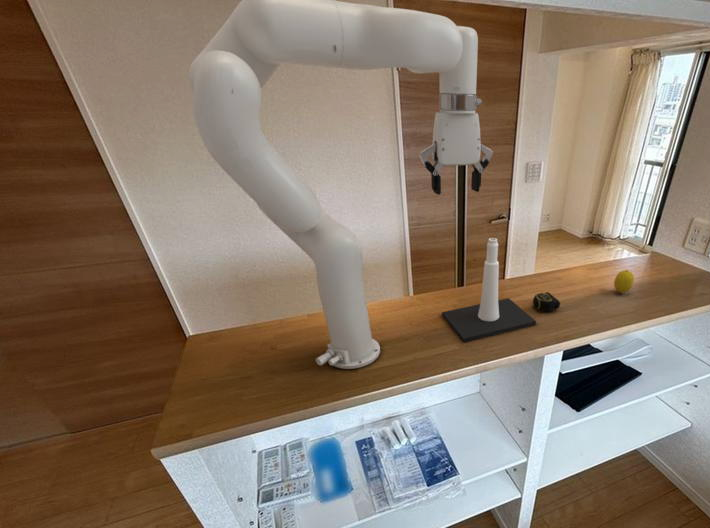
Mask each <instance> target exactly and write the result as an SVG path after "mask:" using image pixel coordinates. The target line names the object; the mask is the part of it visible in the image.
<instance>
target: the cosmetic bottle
mask: <svg viewBox="0 0 710 528" xmlns="http://www.w3.org/2000/svg"><path fill="white" fill-rule="evenodd" d="M487 241H488V242H487V244H486V260H484V265H483V276H482V284H481V285H482V286H481V294H480V295H481V297H480V303H479V304H480V308H479V313H478V317H479V318H480V319H481V320H483V321H495V320H497V319H498V318H499V307H498V300H499V277H500V276H499V274H500V273H499V271H500V270H499V269H500V264H499V261H498V254H499V253H498V252H499V242H498V238H496V237H490V238H488V240H487Z"/></svg>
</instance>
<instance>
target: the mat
mask: <svg viewBox="0 0 710 528" xmlns="http://www.w3.org/2000/svg"><path fill="white" fill-rule="evenodd" d="M498 307H499V318H498V319H497V320H495V321H483V320H481V319H480V318H479V317H478V313H479V308H480V303H478V304H474V305H470V306H465V307H459V308H456V309H455V308H454V309H450V310H446V311H441V316H442V317H443V319H444V320H445V321H446V323H447V324H448V325H449V326H450V327H451V329H452V330H453V331H454V332H455V334H456V335H457V336H458V338H459V339H460V340H461V341H462V343H467V342H471V341H475V340H479V339H483V338H484V339H485V338H488V337H491V336H495V335H500V334H504V333H507V332H512V331H516V330H519V329H524V328H528V327H531V326H536V323H537V320H535V319H534V318H533V317H532V316H531V315H530V314H529V313H528V312H526V311H525V310H524V309H522V308H521V307H520V306H519V305H517V303H515V302H514V301H513V300H512V299H511V298H509V297H507V298H503V299H498Z"/></svg>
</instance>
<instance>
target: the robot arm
mask: <svg viewBox="0 0 710 528" xmlns="http://www.w3.org/2000/svg"><path fill="white" fill-rule="evenodd" d="M478 36H479V35H478V33H477V31H476V29H474V28H473V27H470V26H463V25H457V24H456V23H455V22H454V21H452V19H450V18H449V17H447V16H443V15H440V14H436V13H430V12H426V11H420V10H415V9H408V8H400V7H399V8H398V7H388V6H378V5H371V4H365V3H353V2H347V1H342V0H341V1H340V0H241V1H240V2H239V3H238V4H237V6H236V7H235V9H234V10H233V11H232V13H231V14H230V15H229V17H228V18H227V19H226V21H225V22H224V24H223V25H222V26H221V27H220V28H219V30H218V31H217V32H216V33H215V34H214V36H213V37H212V38H211V39H210V41H209V42H208V43H207V44H206V46H204V48H203V49H202V50H201V51H200V52H199V54H198V55H197V56H196V58H194V60H193V61H192V63H191V64H190V67H189V71H188V83H189V87H190V88H191V91H192V111H193V116H194V121H195V124H196V125H195V126H196V128H197V132H198V134H199V136H200V137H199V138H201V141H202V143H203V145H204V146H205V148H206V150H207V151H208V153H209V155H210V156H211V157H212V158H213V160H214V161H215V162H216V163H217V164H218V165H219V167H220V168H221V169H222V170H223V171H224V172H225V173H226V174H227V175H228V176H229V177H230V178H231V180H233V181H234V182H235V183H236V184H237V185H238V186H239V187H240V188H241V189H242V190H243V191H244V193H246V194H247V196H248V197H250V198H251V199H252V200H253V201H254V202H255V203H256V205H257V207H258V209H259V210H260V211H261V212H262V213H263V214H264V215H265V216H266V218H268V220H270V221H271V222H272V223H273V224H274V225H275V226H276V227H277V228H279V229H280V230H281V232H282V233H284V234H285V235H286V236H287V237H288V238H289V239H290V240H291V241H292V242H293V243H294V244H295V245H296V246H298V247H299V249H301V250H302V251H303V252H304V253H305V254H306V255H307V256H308V257H309V258H310V259H311V261H312V262H313V263H314V264H313V265H314V267H315V272H316V281H317V282H316V283H317V289H318V295H319V299H320V303H321V306H322V310H323V315H324V319H325V323H326V328H327V333H328V336H329V337H328V338H329V342H330V343H327V345H326V346H327V350H325V353H324V354H323V353H322V354H321V355H320V356H318V357H316V358H315V363H316V364H317V365H318V366H323V365H324V364H326V363H328V364H329V366H333V367H334V368H338V369H342V370H343V369H344V370H354V369H359V368H363V367H365V366H368V365H370V364H372V363H373V362H375V361H376V360H377V359H378V357H379V356H380V354H381V346H380V343H379V342H378V341H377V340H376V339H374V338H373V337H372V335H373V334H372V329H371V323H370V316H369V311H368V303H367V298H366V291H365V285H364V277H363V276H364V275H363V250H362V247H361V243H360V241H359V239H358V238H357V237H356V235H355V233H353V232H352V231H351V230H350V229H349V228H348V227H346V226H344V225H343V224H341V223H340V222H338V221H336V220H335V219H333V218H332V217H331V216H330V215H329V214H328V213H327V212H326V210H324V208H323V207H322V206H321V205H320V202H319V199H318V197H317V195H316V194H315V192H314V190H313V189H312V188H311V187H310V186H309V185H308V184H307V183H306V182H305V181H304V180H303V179H301V177H300V176H299V175H298V174H297V173H296V172H295V170H293V169H292V168H291V167H290V165H289V164H288V163H287V162H286V161H285V160H284V158H283V157H282V156H281V155H280V154H279V153H278V151H277V150H276V149H275V148H274V147H273V145H272V144H271V143H270V142H269V140H268V139H267V137H266V136H265V133H264V131H263V129H262V126H261V123H260V109H261V106H262V98H263V97H262V94H263V93H262V89H263V88H264V87H265V84H266V83H267V82H268V81H269V80H270V78H271V77H272V76H273V74H274V73H275V72H276V70H277V69H278V67H279V66H280V65H281V64H287V65H290V64H291V65H300V66H310V67H311V66H312V67H325V68H334V69H344V70H356V71H357V70H359V71H370V70H379V69H392V68H393V69H395V68H396V69H397V68H399V69H407V70H408V71H409V72H411V73H414V74H430V73H432V74H433V73H434V74H435V73H438V76H439V79H438V80H439V112H438V111H437V112H435V115H434V122H433V133H432V144H431V145H429V146H428V147H426V148H424V149H423V150H421V151H420V152H418V157H419V159H420V160H421V163H422V164H423V167H424V168H425V169H426V170H427V171H428V172H429V174H430V176H431V178H430V179H431V190H432V191H433V193H434V194H435V195H441V194H442V177H441V175H440V173H441V170H442V169H443V168H444V167H450V166H451V167H452V166H471V167H472V169H473V171H472V172H471V184H470V188H471V190H472V191H474V192H477V193H479V192H480V188H481V186H482V174H483V173H484V171H485V169H486V168H487V167H488V166H489V163H490V161H491V159H492V156H493V154H494V151H493V150H492V149H490V148H488V147H487V146H486V145H483V144H482V142H481V126H480V117H479V113H478V112H476V110H477V108H478V107H481V106H482V99H481V98H478V95H477V79H478V76H477V75H478V54H479V53H478V52H479V51H478V50H479V49H478V48H479V37H478ZM481 153H483V158H482V159H481ZM431 155H432V161H433V163H431V162H430V159H429V157H430V156H431Z"/></svg>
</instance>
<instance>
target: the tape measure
mask: <svg viewBox="0 0 710 528" xmlns="http://www.w3.org/2000/svg"><path fill="white" fill-rule="evenodd" d="M532 299H533V300H532V305H533V307H534V308H535V309H537V310H538V311H541V312H551V311H554V310H557V309H559V308H560V306H561V302H560V300H559V299H557V297H555V296H554V295H553V294H551V292H549V291H546V292H539V293H536V294H535V295H534V297H533V298H532Z"/></svg>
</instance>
